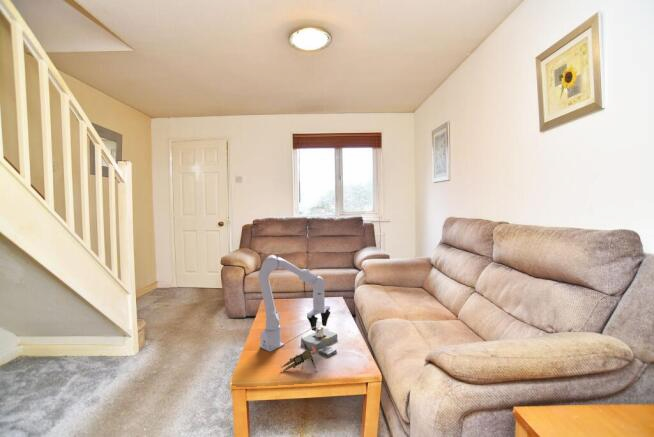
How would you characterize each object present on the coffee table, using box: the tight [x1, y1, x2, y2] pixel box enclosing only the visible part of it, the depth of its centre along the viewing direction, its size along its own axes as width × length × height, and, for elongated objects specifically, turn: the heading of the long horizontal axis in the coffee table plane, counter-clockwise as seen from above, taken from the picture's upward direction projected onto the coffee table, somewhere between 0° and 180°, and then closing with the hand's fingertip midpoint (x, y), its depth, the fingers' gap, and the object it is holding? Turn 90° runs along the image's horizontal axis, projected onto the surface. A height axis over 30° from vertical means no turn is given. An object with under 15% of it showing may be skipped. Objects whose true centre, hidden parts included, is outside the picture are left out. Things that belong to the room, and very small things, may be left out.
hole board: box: [300, 328, 338, 352], centre depth 150 cm, size 16×10×3 cm, turn 139°
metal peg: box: [314, 326, 324, 340], centre depth 150 cm, size 4×4×7 cm
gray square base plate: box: [317, 345, 338, 358], centre depth 139 cm, size 6×6×2 cm
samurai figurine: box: [275, 325, 318, 373], centre depth 127 cm, size 16×10×20 cm
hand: (319, 327), depth 150 cm, fingers open, 7 cm apart
